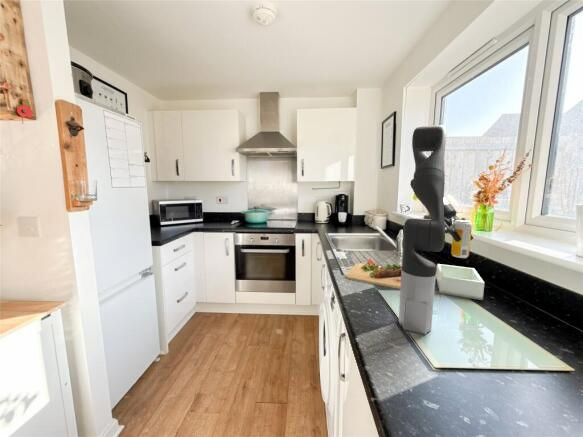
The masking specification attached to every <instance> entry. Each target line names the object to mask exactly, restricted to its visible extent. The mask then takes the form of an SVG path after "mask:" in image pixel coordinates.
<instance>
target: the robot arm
mask: <svg viewBox="0 0 583 437" xmlns="http://www.w3.org/2000/svg"><path fill="white" fill-rule="evenodd" d="M446 130H447V129H446V127H445V126H444V125H440V124H439V125H438V124H437V125H436V124H435V125H434V124H433V125H426V126H418V127H416V128H415V129H414V130H413V132H412V137H411V146H412V148H411V149H412V153H413V158H414V163H415V168H414V170H415V171H414V173H413V178H412V179H411V180H410V184H409V185H410V188H411V189H412V191H413V193H414V195H415V197H416V198H417V200H419V202H420V203H421V204H422V205H423V206H424V208H426V210H427V212H428V214H429V216H430V219H425V218H424V219H421V218H408V219H406V220H405V222H404V224H403V229H402V230H403V231H402V246H403V247H402V261H401V262H402V264H401V266H402V274H401V289H399V290H400V291H399V292H400V293H399V308H398V323H399V325H400V326H401V327H402V328H403V330H405V331H410V332H414V333H417V334H418V333H419V334H422V335H427V333H429V332H430V331H431V330H432V326H433V325H432V324H433V316H434V315H433V313H434V312H433V311H434V300H435V288H436V287H435V286H436V280H437V279H436V276H437V265H436V264H435V263H434V262H433V261H431V260H428V259H426V258H424V257H422V256H420V255H419V254H418V253H416V251H425V252H433V253H436V252H441V251H442V250H443V249H444V246H445V242H446V234H449V235H451V237H452V239H453V238H454V240H455V241H456V242H459V241H460V240H461V237H460V236H459V235H458V233H457V232H455V228H454V222H455V220H466V218H465V217H462V218H459V217H458V216H457V210H456V209H455V208H454V206H453V205H452V203H451V202H450V201H449V200H448V199H447V198H446V197H445V184H446V183H445V181H446V179H445V177H446V176H445V152H446V145H447V144H446V143H447V131H446ZM425 152H431V153H430V155H427V153H425ZM473 240H474V236H473V235H472V234H471V239H470V242H471V241H473ZM415 250H416V251H415Z"/></svg>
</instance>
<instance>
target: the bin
mask: <svg viewBox="0 0 583 437" xmlns="http://www.w3.org/2000/svg"><path fill="white" fill-rule="evenodd" d="M435 280H436V282H437V287H438V291H439V292H438V293H439V294H444V295H449V296H454V297H461V298H467V299H471V300H472V299H473V300H480V301H483V299H484V291H485V290H484V289H485V281H484V280H483V278H482V277H481V276H480V274H479V273H478V271H477V270H476V269H475V268H474V267H465V266H459V265H458V266H457V265H449V264H443V263H442V264H440V263H437V265H436V279H435Z"/></svg>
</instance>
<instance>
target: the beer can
mask: <svg viewBox="0 0 583 437" xmlns="http://www.w3.org/2000/svg"><path fill="white" fill-rule="evenodd" d="M472 227H473V223H472V221H471V220H466V219H465V220H455V222H454V228H455V232H457V233H458V235H459V236H460V237H461V240H460V241H459V242H456V241H455V240H454V238H453V237H452V240H451V251H450V253H451V255H452V257H455V258H459V259H467V258H468V257H469V256H470V246H471V241H470V239H471V235H472V229H473V228H472Z"/></svg>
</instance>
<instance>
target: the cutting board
mask: <svg viewBox="0 0 583 437" xmlns="http://www.w3.org/2000/svg"><path fill="white" fill-rule="evenodd" d="M401 274H402V265H400V264H398V263H393V264H392V265H391V264H390V263H389V264H388V263H385V266H381V265H377V264H376V262H374V261H373V260H372V259H371V258H369V259H368V261H367V262H366V263H362V262H359V263H355V264H354V265H353V266H352V268H351V269H350V270H349V271H348V272H347V273H346V274H345V276H344V278H345V279H347V280H350V281H355V282H361V283H365V284H370V283H371V285H377V286H382V287H388V288H392V289H398V290H400V289H401Z"/></svg>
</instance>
